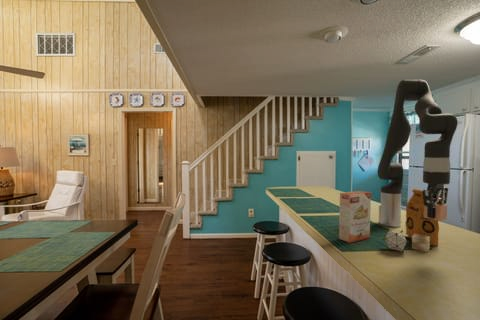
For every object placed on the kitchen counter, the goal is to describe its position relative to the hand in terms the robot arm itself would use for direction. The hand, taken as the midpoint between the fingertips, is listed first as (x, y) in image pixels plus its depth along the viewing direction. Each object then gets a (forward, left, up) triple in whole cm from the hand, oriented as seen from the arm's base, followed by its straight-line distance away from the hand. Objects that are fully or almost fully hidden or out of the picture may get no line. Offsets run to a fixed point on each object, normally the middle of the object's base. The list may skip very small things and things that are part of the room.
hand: (434, 216), depth 86 cm
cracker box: (-27, -7, -15) cm, 32 cm away
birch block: (-7, +6, -15) cm, 18 cm away
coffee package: (-11, +16, -15) cm, 25 cm away
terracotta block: (0, 0, -1) cm, 1 cm away
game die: (-11, -5, -15) cm, 19 cm away
